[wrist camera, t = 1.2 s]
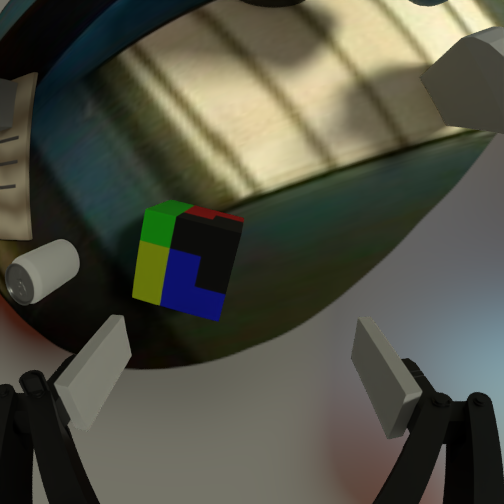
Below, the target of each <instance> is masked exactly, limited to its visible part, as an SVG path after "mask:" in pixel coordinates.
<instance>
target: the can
mask: <svg viewBox="0 0 504 504" xmlns="http://www.w3.org/2000/svg"><path fill="white" fill-rule="evenodd" d="M79 264H80V263H79V256H78V253H77V251H76V249H75V248H74V246H73V245H72V244H71V243H70V242H68V241H66V240H64V239H59V240H56V241H53V242H51V243H48V244H46V245H44V246H41V247H39V248H37V249H35V250H32V251H30V252H28V253H26V254H24V255H22V256H19V257H18V258H16V259H15V260H14V261H13V262H12V264H10V265H9V266H8V267H7V269H6V273H5V281H6V286H7V289H8V291H9V293H10V295H11V296H12V298H13V299H14V300H15V301H16V302H18V303H19V304H21V305H28V304H32V303H36V302H38V301H40V300H41V299H42V298H44V297H45V296H47V295H48V294H50V293H51V292H53V291H54V290H55V289H57V288H58V287H60V286H61V285H63V284H64V283H66V282H67V281H69V280H70V279H71V278H73V277H74V276H75V275H76V274H77V272H78V270H79Z"/></svg>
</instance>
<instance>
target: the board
mask: <svg viewBox="0 0 504 504" xmlns="http://www.w3.org/2000/svg"><path fill="white" fill-rule="evenodd" d="M37 76H38V73H36V72H33V73H30V74H27V75H25V76H22V77H19V78H17V79H14V80H12V82H16V83H18V85H17V91H16V98H15V105H14V114H13V124H12V128H9V129H5V130H2V131H0V239H6V240H31V239H32V230H31V218H30V200H29V150H30V133H31V120H32V111H33V102H34V95H35V88H36V82H37Z"/></svg>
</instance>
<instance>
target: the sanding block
mask: <svg viewBox="0 0 504 504" xmlns="http://www.w3.org/2000/svg"><path fill="white" fill-rule="evenodd" d="M17 85H18V83H16V82H12V81H9V80H5V79H1V78H0V131H2V130H5V129H9V128H12V124H13V114H14V105H15V98H16V91H17Z"/></svg>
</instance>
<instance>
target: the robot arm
mask: <svg viewBox="0 0 504 504" xmlns="http://www.w3.org/2000/svg"><path fill="white" fill-rule="evenodd" d="M241 1H243V2H246V3H249V4H252V5H256V6H263V7H285V6H291V5H295V4H298V3H301V2H303V1H305V0H241ZM409 1H411V2H412V3H414V4H417V5H420V6H435V5H439V4H441V3H444V2H446V1H448V0H409ZM131 356H132V355H131V350H130V346H129V341H128V337H127V332H126V327H125V322H124V317H123V316H121V315H111V316H110V317H109V318H108V320H107V321H106V322H105V323H104V324H103V325H102V326H101V328H100V329H99V330H98V331H97V332H96V333H95V335H94V336H93V337H92V338H91V339H90V340H89V342H88V343H87V344H86V345H85V346H84V347H83V349H82V350H81V351H80V352H79V353H78V355H74V354H73V355H72V356H70V357H68V358H67V359H65V361H64V362H63V363H62V364H61V366H59V368H58V369H57V371H55V372H54V374H53V375H52V376H51V377H50V378H49V380H48V381H47V382H46V379H45V377H44V375H43V373H42V372H40V371H38V370H32V371H28V372H26V373H24V374H23V375H22V376H21V377H20V379H19V383H20V385H21V387H22V389H23V391H24V393H16V392H15V390H14V388H13V386H11V385H10V384H2V385H0V504H33V503H32V502H33V500H32V471H33V451H34V450H35V454H36V459H37V463H38V467H39V471H40V474H41V479H42V482H43V486H44V489H45V492H46V495H47V499H48V501H49V504H100V503H99V501H98V499H97V497H96V495H95V492H94V490H93V488H92V486H91V484H90V482H89V479H88V477H87V474H86V472H85V470H84V468H83V465H82V462H81V460H80V457H79V455H78V452H77V449H76V447H75V444H74V441H73V438H72V435H71V432H70V429H69V428H68V426H67V424H68V423H69V421H70V420H71V421H72V423H73V425H74V427H75V428H77V429H80V430H84V431H87V432H88V431H89V429H90V427H91V426H92V424H93V422H94V420H95V418H96V417H97V415H98V413H99V411H100V409H101V408H102V406H103V404H104V402H105V400H106V399H107V397H108V395H109V393H110V392H111V390H112V388H113V386H114V385H115V383H116V381H117V380H118V378H119V376H120V374H121V373H122V371H123V369H124V368H125V366H126V364H127V362H128V361H129V359H130V357H131ZM351 359H352V361H353V363H354V366H355V368H356V370H357V372H358V374H359V376H360V378H361V381H362V383H363V385H364V387H365V389H366V392H367V394H368V396H369V398H370V400H371V403H372V405H373V407H374V409H375V412H376V414H377V416H378V418H379V421H380V423H381V425H382V428H383V430H384V432H385V435H386V437H387V439H392V438H396V437H401V436H403V434H404V432H405V430H406V428H408V430H409V432H410V435H409V437H408V439H407V441H406V442H405V444H404V446H403V449H402V451H401V453H400V455H399V457H398V459H397V461H396V463H395V465H394V467H393V469H392V471H391V473H390V474H389V476H388V478H387V480H386V482H385V483H384V485H383V487H382V488H381V490H380V492H379V494H378V495H377V497H376V499H375V500H374V502H373V503H372V504H419V502H420V500H421V498H422V495H423V493H424V491H425V489H426V486H427V484H428V481H429V479H430V476H431V474H432V471H433V469H434V466H435V463H436V460H437V458H438V455H439V452H440V449H441V446H442V444H446V469H445V485H444V496H443V504H504V477H503V476H504V475H503V464H502V456H501V448H500V442H499V436H498V430H497V424H496V419H495V414H494V409H493V404H492V401H491V399H490V398H489V397H488V396H487V395H486V394H483V393H480V392H474V393H472V394H470V395H469V397H468V398H467V401H452V399H451V398H450V397H449V396H448V395H446V394H444V393H439V392H436V391H435V389H434V388H433V387H432V385H431V384H430V382H429V381H428V380H427V378H426V377H425V376H424V374H423V373H422V371H420V368H419V367H418V366H417V365H416V363H415V362H413V361H411V360H410V359H409V358H406V359H400V358H399V356H398V355H397V353H396V352H395V350H394V349H393V348H392V346H391V345H390V343H389V342H388V340H387V339H386V337H385V336H384V335H383V333H382V332H381V331H380V329H379V328H378V326H377V325H376V323H375V322H374V321H373V319H372V318H371V317H360V318H358V321H357V328H356V333H355V339H354V344H353V350H352V355H351Z"/></svg>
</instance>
